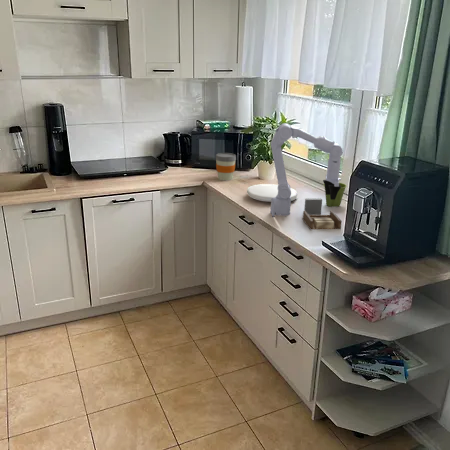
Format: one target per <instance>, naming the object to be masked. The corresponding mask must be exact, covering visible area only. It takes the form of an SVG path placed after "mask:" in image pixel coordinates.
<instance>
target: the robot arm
mask: <svg viewBox="0 0 450 450" xmlns="http://www.w3.org/2000/svg"><path fill="white" fill-rule="evenodd" d="M291 138H292V139H295V138H296V139H297V138H299V139H302V140H304V141H306V142H309V143H311V144H313V146H314V148H316V149H317V150H320V151H321V152H324V153H325V154H328V158H327V159H328V160H327V166H326V167H327V169H326V174H325V179H323V180H322V181H323V184H324V185H325V187H324V192H326V195H330V199H331V200H335V199H336V196H337V193H338V191H339V190H340V188H341V186H340V185H339V183H340V181H341V180H342V179H341V177H340V169H341V161H342V160H341V159H342V155H343V153H344V152H343V147H342V146H341V145H340V144H339V143H337V142H335V141H334V140H333V141H332V140H331V139H328V138H326V136H324V135H323V136H321V135H320V136H317V137H316V136H315V135H313V134H311V133H309V132H307V131H306V130H303V129H301V128H300V127H297V126H295V125H290V124H289V123H285V122H284V123H281V124H280V125H279V126H278V127H277V128H276V130H275V132H274V134H273V136H272V139H271V142H270V146H271V147H270V148H271V153H272V159H273V164H274V168H275V173H276V179H277V185H278V195H277V196H276V197H275V198H272V199H271V202H270V211H269V212H270V215H271V216H272V218H276V217H275V216H289V215H290V214H291V206H292V205H291V203H292V201H291V190H290V188H291V185H290V183H289V182H288V179H287V174H286V167H285V163H284V158H283V151H282V146H283V145H284V144H285V142H286V141H288V140H289V139H291ZM324 185H323V186H324ZM326 195H325V196H326Z"/></svg>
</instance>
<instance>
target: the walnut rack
mask: <svg viewBox="0 0 450 450" xmlns="http://www.w3.org/2000/svg"><path fill="white" fill-rule="evenodd" d="M315 218H331V219H332V221H334V228H318V229H316V227H315V226H314V225H313V223H314V219H315ZM302 220H303V221H304V223H305V224H306V225H307V226H308V228H309V229H310V230H341V229H342V219H341V218H340V217H339V216H338V215H337V214H336V213H335V212H334V211H333V210H330V211H329V214H308V213H307V212H306V211H304V210H303V213H302Z"/></svg>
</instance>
